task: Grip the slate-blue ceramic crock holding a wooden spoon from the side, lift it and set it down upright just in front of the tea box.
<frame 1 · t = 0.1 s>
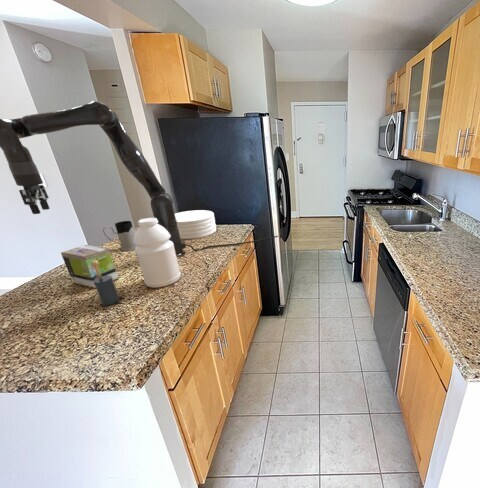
hand: (41, 211, 112), 29 cm above the countertop, tool pointing down, fingers open, 8 cm apart
spoon crock: (111, 301, 100), on the countertop
tea box: (96, 280, 115), on the countertop
glass holder: (125, 248, 149), on the countertop
plate stack: (194, 232, 176), on the countertop
bottle: (163, 280, 115), on the countertop
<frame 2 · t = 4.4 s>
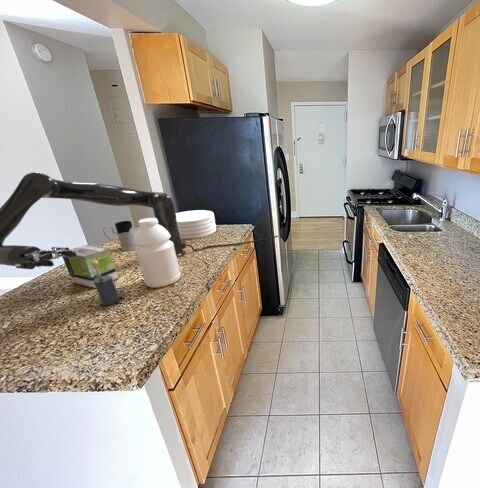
hand: (64, 258, 94), 18 cm above the countertop, tool horizontal, fingers open, 8 cm apart
nothing on the countertop moved.
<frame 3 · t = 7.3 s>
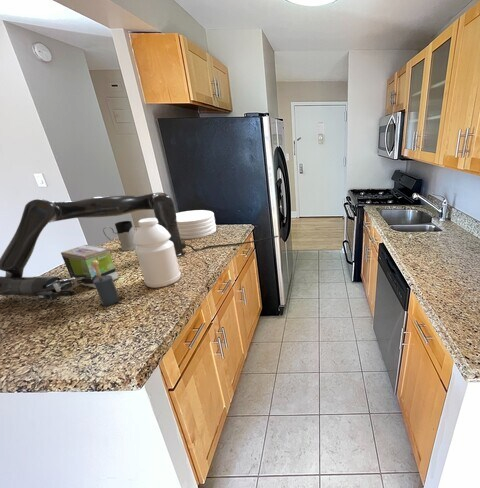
hand: (83, 286, 98), 7 cm above the countertop, tool horizontal, fingers open, 8 cm apart
nothing on the countertop moved.
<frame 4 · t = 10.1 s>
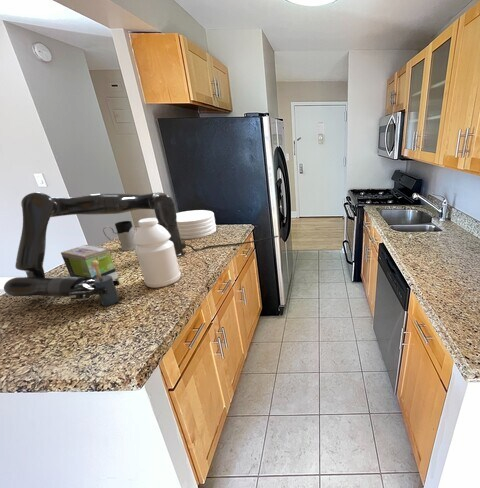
hand: (112, 286, 98), 7 cm above the countertop, tool horizontal, fingers closed on spoon crock, 5 cm apart
spoon crock: (111, 301, 100), on the countertop, touching gripper
everything else where it was.
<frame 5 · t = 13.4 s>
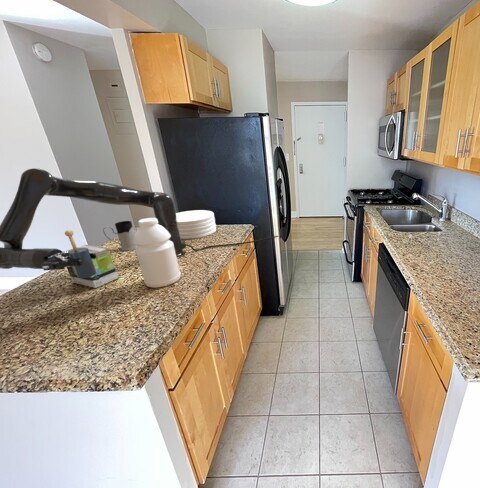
hand: (88, 259, 94), 18 cm above the countertop, tool horizontal, fingers closed on spoon crock, 5 cm apart
spoon crock: (87, 274, 97), point 11 cm above the countertop, touching gripper
everything else where it was.
when the fingers open (6 cm above the countertop, at t = 17.1 s): spoon crock stays where it is, on the countertop.
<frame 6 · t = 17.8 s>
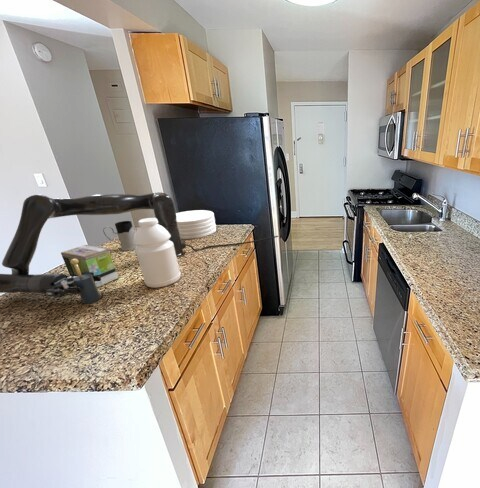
hand: (90, 283, 99), 7 cm above the countertop, tool horizontal, fingers open, 8 cm apart
spoon crock: (91, 299, 101), on the countertop
everything else where it was.
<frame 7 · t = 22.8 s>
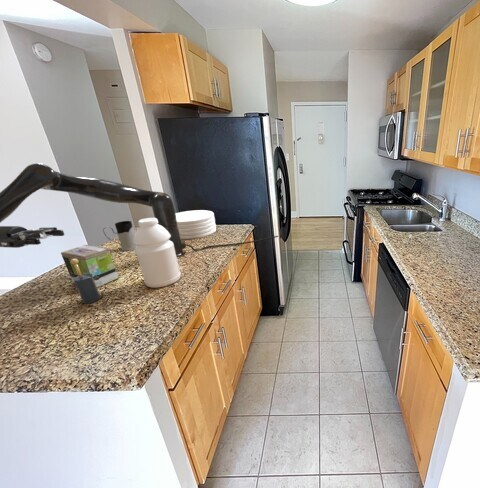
hand: (51, 236, 92), 26 cm above the countertop, tool horizontal, fingers open, 8 cm apart
nothing on the countertop moved.
at the end: spoon crock inside the target area on the countertop beside the tea box (1.0 cm from its centre), on the countertop; spoon crock tilted 0°; the gripper is holding nothing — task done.
